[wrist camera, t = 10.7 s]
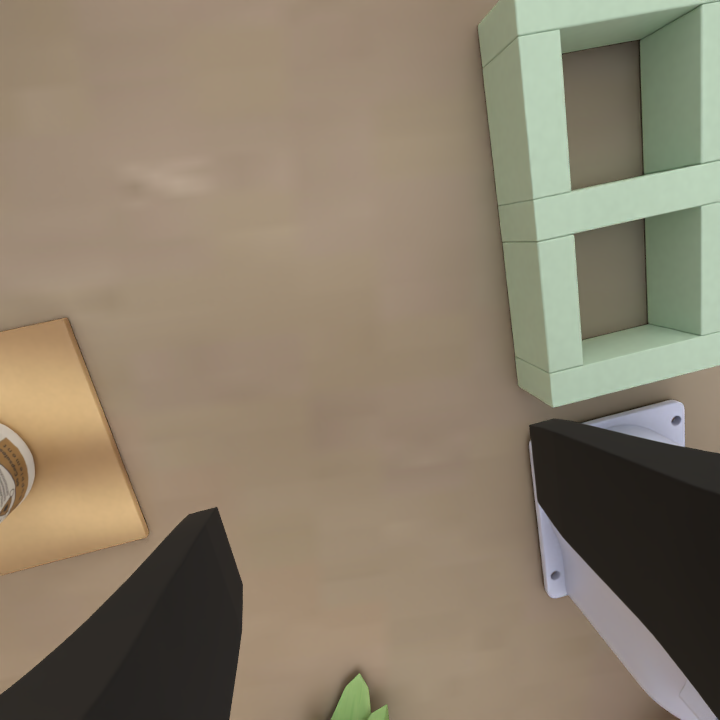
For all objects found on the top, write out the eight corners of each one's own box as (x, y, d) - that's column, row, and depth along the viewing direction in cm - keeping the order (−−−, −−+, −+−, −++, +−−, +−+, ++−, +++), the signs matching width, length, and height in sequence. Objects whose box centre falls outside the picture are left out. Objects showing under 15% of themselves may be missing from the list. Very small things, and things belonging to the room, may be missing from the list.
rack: (676, 347, 22) (733, 362, 20) (517, 386, 22) (552, 408, 19) (671, -9, 18) (742, -55, 16) (476, 25, 18) (513, -18, 15)
